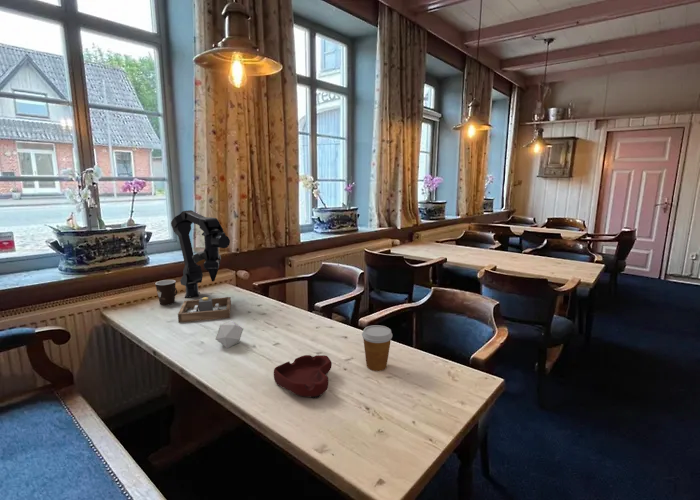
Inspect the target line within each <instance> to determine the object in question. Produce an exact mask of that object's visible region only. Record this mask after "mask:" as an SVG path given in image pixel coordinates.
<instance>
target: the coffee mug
mask: <svg viewBox="0 0 700 500" xmlns="http://www.w3.org/2000/svg"><path fill="white" fill-rule="evenodd" d="M176 282H177V281H176V280H174V279H163V280H159V281H156V282H155V283H154V284H155V288H156V293H157V297H158V300H159V302H158V303H159V305H162V306H168V304H169V305H172V303H173V304H174V303H175V301H176V296H177V295H178V289H177V288H176Z"/></svg>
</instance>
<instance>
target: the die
mask: <svg viewBox="0 0 700 500" xmlns="http://www.w3.org/2000/svg"><path fill="white" fill-rule="evenodd" d="M243 330H244V328H243V327H242V326H241V325H239V324H238V323H236V322H235V321H234V320H232V319H231V320H228V321H226V322H223V323H222V324H221V323H220V324H219V327H218V330H217V333H216V336H215V340H216V341H217V342H218V343H220V344H221V345H222V346H224V347H225V348H226V349H229V348H231V347H233V346H235V345H237V344H240V340H241V337H242V334H243V332H244V331H243Z"/></svg>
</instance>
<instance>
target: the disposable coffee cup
mask: <svg viewBox="0 0 700 500" xmlns="http://www.w3.org/2000/svg"><path fill="white" fill-rule="evenodd" d="M361 336H362V337H361V338H362V339H363V340H362V341H363V345H364V355H365V363H366V364H365V365H366V368H367V369H368V370H370V371H372V372H382V371H385V370H386V369H387V367H388V361H389V353H390V349H391V348H390V347H391V342H392V339H393V333H392V329H391V328H389V327H387V326H385V325H379V324H377V325H368V326H366V327H365V328H364V329H363V331H362V332H361Z"/></svg>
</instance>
